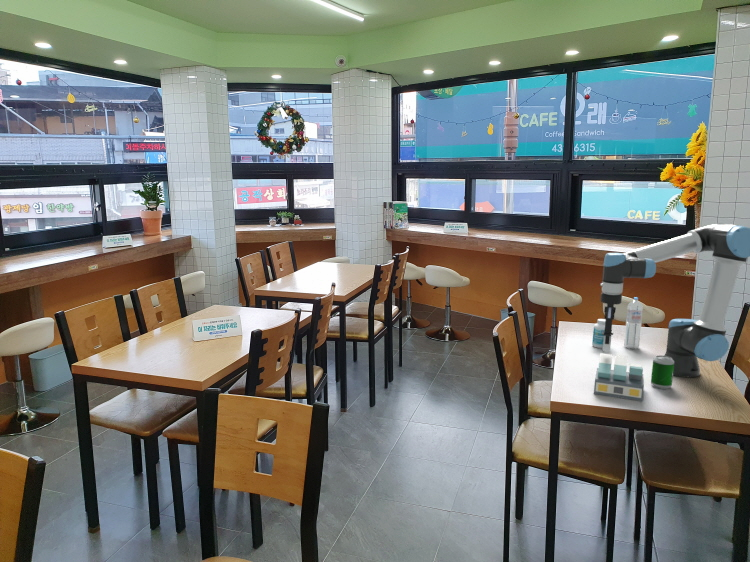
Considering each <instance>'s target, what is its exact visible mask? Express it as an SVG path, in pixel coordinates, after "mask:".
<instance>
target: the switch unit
mask: <svg viewBox="0 0 750 562" xmlns="http://www.w3.org/2000/svg"><path fill="white" fill-rule="evenodd" d="M598 368H599V367H597V368H596V371H595V372H596V373H595V377H594V387H593V394H594V395H599V396H605V397H606V396H607V397H613V398H619V399H625V400H626V399H627V400H632V401H637V402H638V401H640V402H643V400H644V399H643V397H644V389H645V387H644V386H645V381H644V380H645V379H644V374H643V375H642V376H640V375H632V374H629V371H626V381H622V380H615V379H613V374H614V369H611V373H610V379H608V378H601V377H598Z"/></svg>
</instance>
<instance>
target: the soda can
mask: <svg viewBox="0 0 750 562" xmlns="http://www.w3.org/2000/svg"><path fill="white" fill-rule="evenodd" d="M673 370H674V360H673V359H672V358H671V357H668V356H664V355H657V356H656V355H655V357H654V358H653V360H652V369H651V376H650V378H651V379H650V384H651V385H652V386H653V388H656V389H660V390H668V389H669V388H671V387H672V385H673V379H674V378H673V377H674V375H673Z"/></svg>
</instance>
